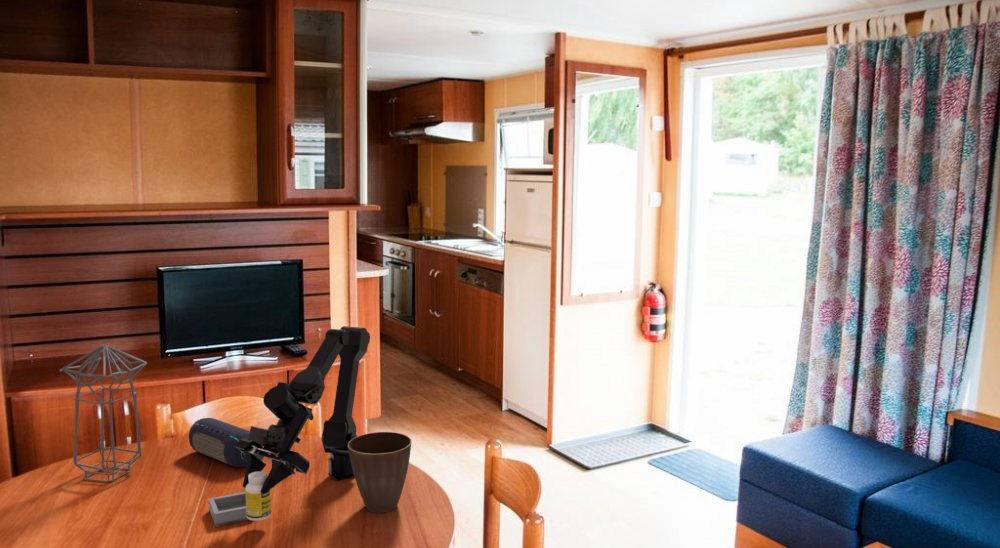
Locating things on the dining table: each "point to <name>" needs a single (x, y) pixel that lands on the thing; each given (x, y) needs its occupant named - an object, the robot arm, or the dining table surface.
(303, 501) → the dining table surface
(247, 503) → the supplement bottle
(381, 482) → the plant pot
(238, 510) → the can holder
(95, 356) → the geometric lantern
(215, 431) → the portable speaker
